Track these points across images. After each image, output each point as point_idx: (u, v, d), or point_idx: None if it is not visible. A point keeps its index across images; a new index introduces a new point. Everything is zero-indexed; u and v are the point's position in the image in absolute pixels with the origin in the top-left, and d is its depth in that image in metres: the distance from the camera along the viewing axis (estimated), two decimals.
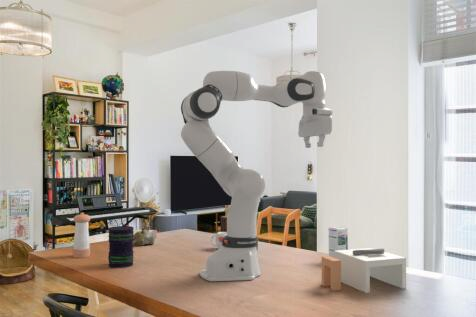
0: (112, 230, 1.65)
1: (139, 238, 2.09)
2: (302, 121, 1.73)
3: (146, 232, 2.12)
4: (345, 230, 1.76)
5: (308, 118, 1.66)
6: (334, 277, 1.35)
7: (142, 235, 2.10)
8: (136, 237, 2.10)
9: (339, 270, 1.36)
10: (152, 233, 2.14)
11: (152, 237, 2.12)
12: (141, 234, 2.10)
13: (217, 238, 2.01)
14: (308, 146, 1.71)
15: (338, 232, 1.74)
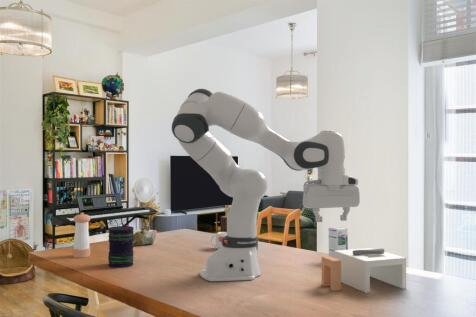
0: (112, 230, 1.65)
1: (139, 238, 2.09)
2: (317, 189, 1.36)
3: (145, 232, 2.13)
4: (345, 230, 1.76)
5: (338, 187, 1.37)
6: (334, 277, 1.35)
7: (142, 235, 2.10)
8: (136, 237, 2.10)
9: (339, 270, 1.36)
10: (151, 233, 2.14)
11: (152, 237, 2.12)
12: (141, 234, 2.11)
13: (217, 238, 2.01)
14: None
15: (338, 232, 1.74)
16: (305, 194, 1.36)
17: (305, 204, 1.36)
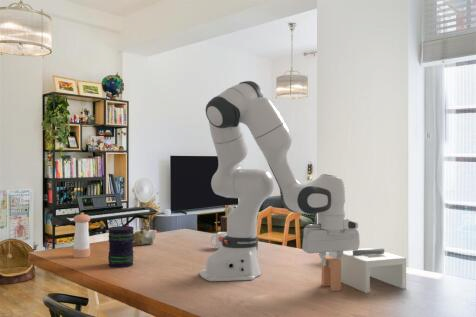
0: (112, 230, 1.65)
1: (138, 238, 2.09)
2: (317, 233, 1.36)
3: (145, 232, 2.13)
4: None
5: (338, 232, 1.37)
6: (334, 277, 1.35)
7: (141, 235, 2.10)
8: (135, 237, 2.10)
9: (339, 270, 1.36)
10: (151, 233, 2.14)
11: (151, 237, 2.12)
12: (140, 234, 2.11)
13: (217, 238, 2.01)
14: None
15: None
16: (305, 238, 1.36)
17: (305, 249, 1.36)
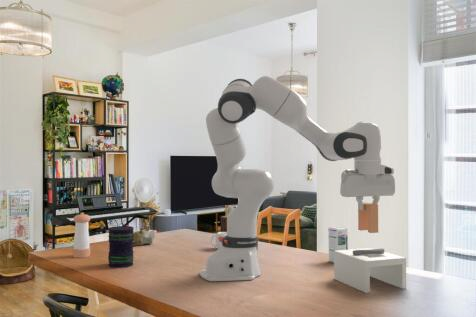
0: (112, 230, 1.65)
1: (137, 238, 2.09)
2: (355, 178, 1.40)
3: (144, 232, 2.13)
4: (345, 230, 1.76)
5: (375, 176, 1.42)
6: (371, 220, 1.40)
7: (140, 235, 2.11)
8: (134, 237, 2.10)
9: (376, 213, 1.41)
10: (150, 233, 2.14)
11: (150, 237, 2.12)
12: (139, 234, 2.11)
13: (217, 238, 2.01)
14: None
15: (338, 232, 1.74)
16: (343, 183, 1.41)
17: (343, 193, 1.40)
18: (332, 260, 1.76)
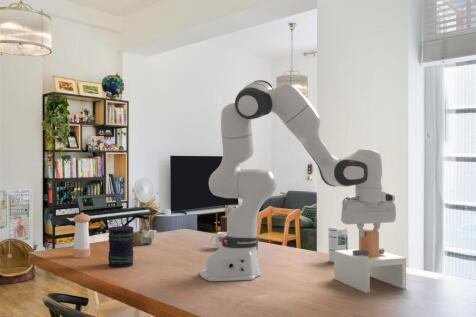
0: (112, 230, 1.65)
1: (137, 238, 2.09)
2: (356, 205, 1.40)
3: (144, 232, 2.13)
4: (345, 230, 1.76)
5: (376, 204, 1.42)
6: (372, 247, 1.40)
7: (140, 235, 2.11)
8: (134, 237, 2.10)
9: (377, 241, 1.41)
10: (150, 233, 2.14)
11: (150, 237, 2.12)
12: (139, 234, 2.11)
13: (217, 238, 2.01)
14: None
15: (338, 232, 1.74)
16: (344, 210, 1.41)
17: (344, 220, 1.40)
18: (332, 260, 1.76)
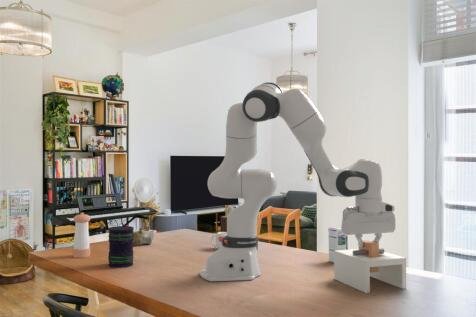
0: (112, 230, 1.65)
1: (137, 238, 2.09)
2: (356, 216, 1.41)
3: (144, 232, 2.13)
4: None
5: (376, 214, 1.42)
6: None
7: (140, 235, 2.11)
8: (134, 237, 2.10)
9: (377, 253, 1.41)
10: (149, 233, 2.14)
11: (150, 237, 2.12)
12: (139, 234, 2.11)
13: (217, 238, 2.01)
14: None
15: (338, 232, 1.74)
16: (344, 220, 1.41)
17: (344, 230, 1.41)
18: (332, 260, 1.76)
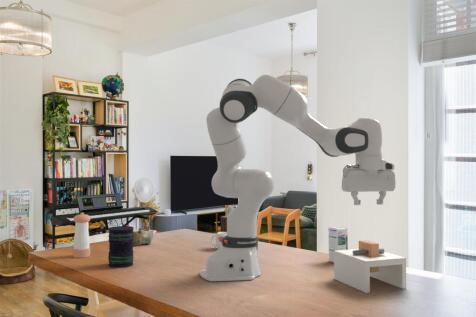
0: (112, 230, 1.65)
1: (136, 238, 2.10)
2: (356, 173, 1.41)
3: (143, 232, 2.13)
4: (345, 230, 1.76)
5: (376, 172, 1.43)
6: None
7: (139, 235, 2.11)
8: None
9: (377, 253, 1.41)
10: (149, 233, 2.14)
11: (149, 237, 2.13)
12: (138, 234, 2.11)
13: (217, 238, 2.01)
14: None
15: (338, 232, 1.74)
16: (344, 178, 1.42)
17: (344, 187, 1.41)
18: (332, 260, 1.76)
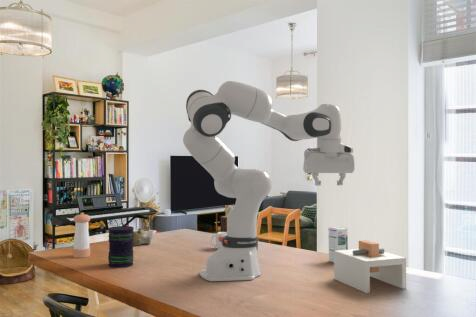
0: (112, 230, 1.65)
1: (136, 238, 2.10)
2: (317, 155, 1.52)
3: (142, 232, 2.13)
4: (345, 230, 1.76)
5: (335, 154, 1.53)
6: None
7: (139, 235, 2.11)
8: None
9: (377, 253, 1.41)
10: (148, 233, 2.14)
11: (149, 237, 2.13)
12: (138, 234, 2.11)
13: (217, 238, 2.01)
14: None
15: (338, 232, 1.74)
16: (305, 160, 1.53)
17: (305, 169, 1.52)
18: (332, 260, 1.76)
